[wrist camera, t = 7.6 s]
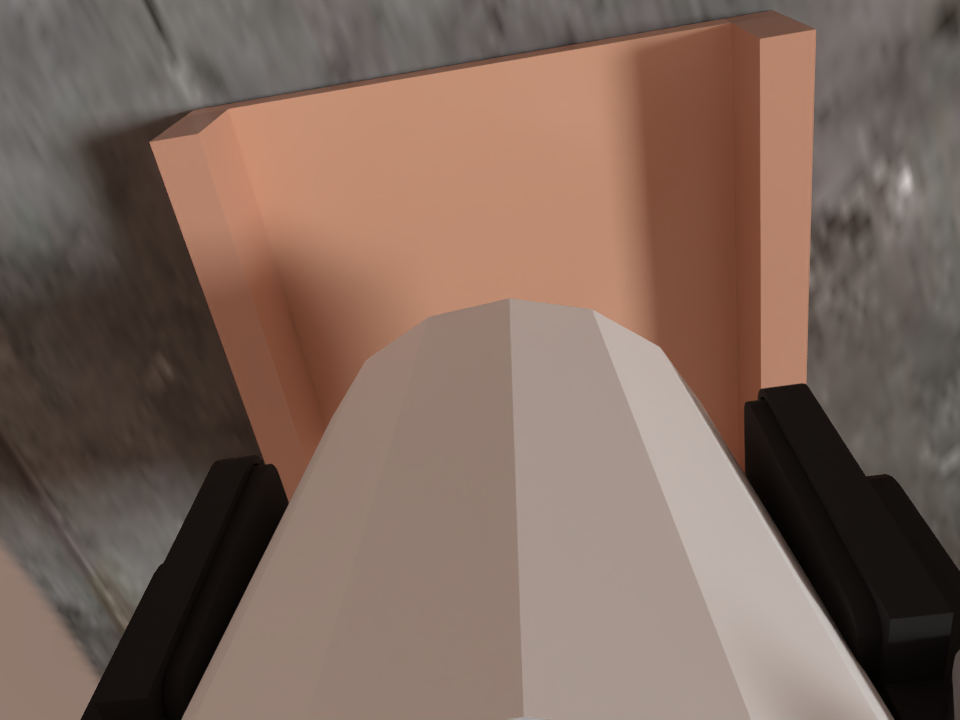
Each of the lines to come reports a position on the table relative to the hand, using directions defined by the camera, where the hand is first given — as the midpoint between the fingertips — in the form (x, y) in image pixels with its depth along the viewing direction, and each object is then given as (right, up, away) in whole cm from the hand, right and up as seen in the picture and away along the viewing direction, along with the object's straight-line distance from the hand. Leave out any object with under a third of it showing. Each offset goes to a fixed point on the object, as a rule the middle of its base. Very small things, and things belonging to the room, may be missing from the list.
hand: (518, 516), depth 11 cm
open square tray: (0, +3, +6) cm, 6 cm away
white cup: (0, +1, +1) cm, 1 cm away
